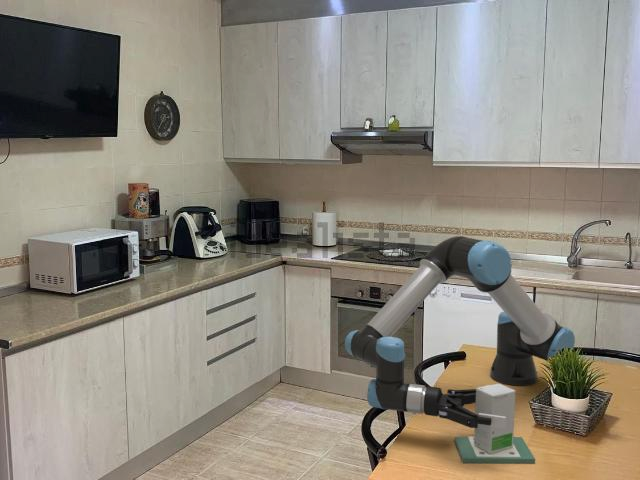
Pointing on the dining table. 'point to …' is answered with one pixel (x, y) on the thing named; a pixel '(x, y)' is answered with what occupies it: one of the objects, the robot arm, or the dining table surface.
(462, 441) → the board
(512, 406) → the skincare box
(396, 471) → the dining table surface
